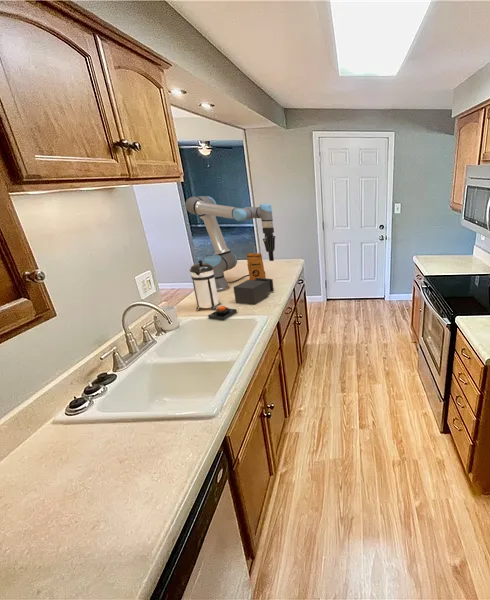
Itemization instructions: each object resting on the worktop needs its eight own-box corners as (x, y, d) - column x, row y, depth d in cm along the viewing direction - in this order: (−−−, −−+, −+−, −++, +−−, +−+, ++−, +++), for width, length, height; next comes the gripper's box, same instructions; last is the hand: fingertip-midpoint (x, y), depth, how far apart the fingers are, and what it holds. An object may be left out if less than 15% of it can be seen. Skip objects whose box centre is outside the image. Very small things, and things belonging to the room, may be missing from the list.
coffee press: (227, 306, 204) (220, 259, 194) (201, 314, 193) (191, 264, 183) (215, 300, 216) (207, 255, 205) (190, 306, 205) (180, 259, 194)
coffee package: (264, 282, 251) (261, 254, 244) (248, 283, 250) (244, 254, 243) (267, 278, 261) (264, 251, 253) (251, 279, 260) (247, 252, 252)
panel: (222, 311, 198) (221, 304, 196) (236, 312, 195) (236, 306, 194) (208, 318, 187) (207, 312, 185) (223, 320, 184) (222, 314, 183)
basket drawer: (261, 287, 236) (259, 276, 233) (277, 289, 233) (275, 277, 230) (245, 296, 219) (243, 283, 216) (262, 298, 216) (260, 285, 213)
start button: (221, 308, 192) (221, 305, 192) (227, 309, 191) (226, 306, 191) (216, 310, 188) (216, 308, 188) (222, 311, 188) (222, 308, 187)
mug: (173, 331, 171) (169, 311, 168) (156, 331, 172) (151, 311, 168) (185, 322, 183) (181, 303, 179) (169, 322, 183) (165, 303, 179)
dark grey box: (250, 294, 225) (248, 279, 221) (268, 296, 222) (266, 281, 218) (235, 302, 211) (233, 286, 207) (254, 304, 207) (252, 288, 204)
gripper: (267, 228, 220) (271, 263, 228) (277, 226, 231) (280, 258, 240) (257, 228, 221) (262, 262, 230) (268, 225, 233) (271, 258, 241)
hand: (271, 260), depth 235 cm, fingers closed
